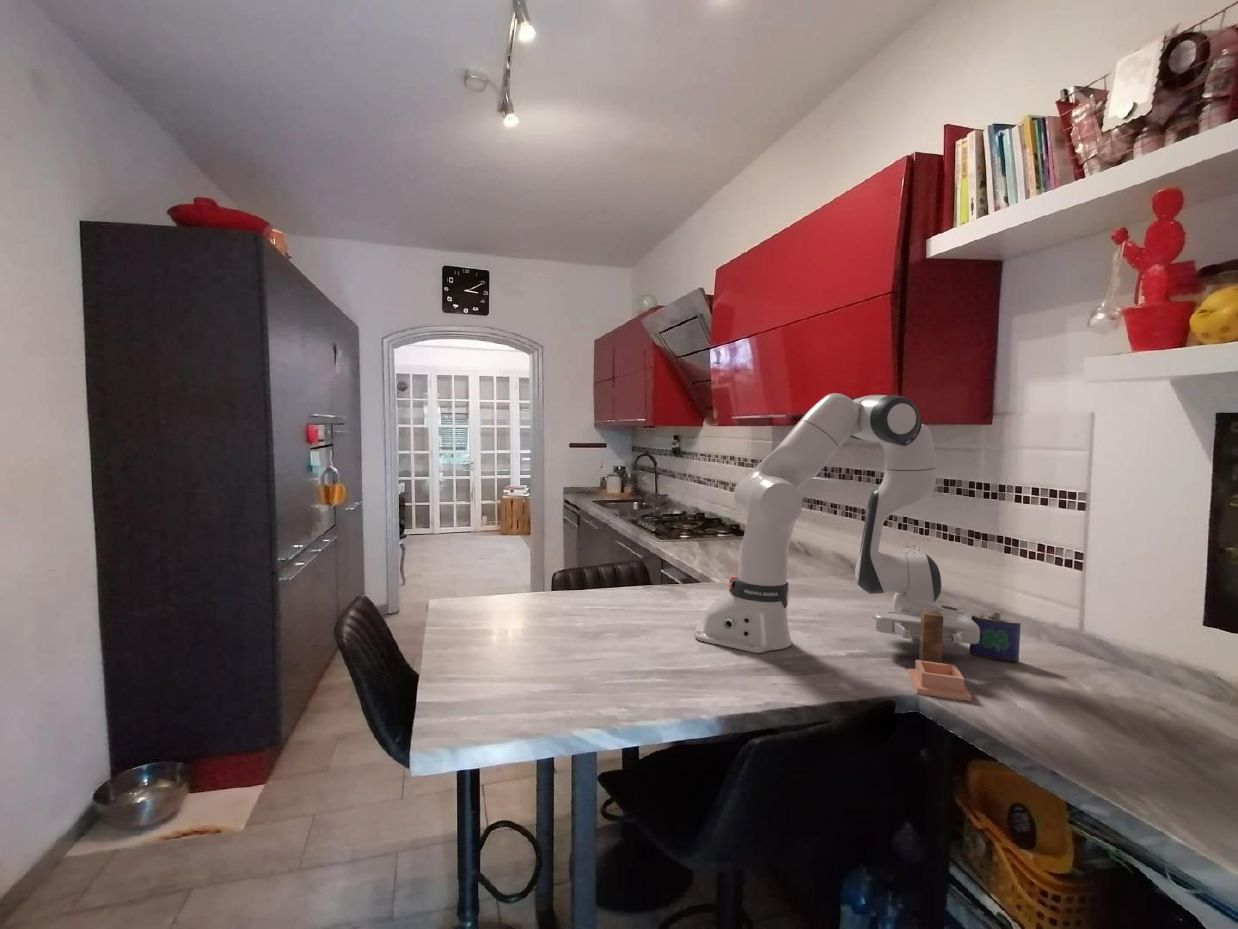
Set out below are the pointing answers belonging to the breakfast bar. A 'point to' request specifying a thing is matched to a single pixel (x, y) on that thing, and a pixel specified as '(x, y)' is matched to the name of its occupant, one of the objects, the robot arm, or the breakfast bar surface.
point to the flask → (997, 638)
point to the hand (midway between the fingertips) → (931, 637)
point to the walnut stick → (931, 636)
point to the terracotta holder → (938, 680)
